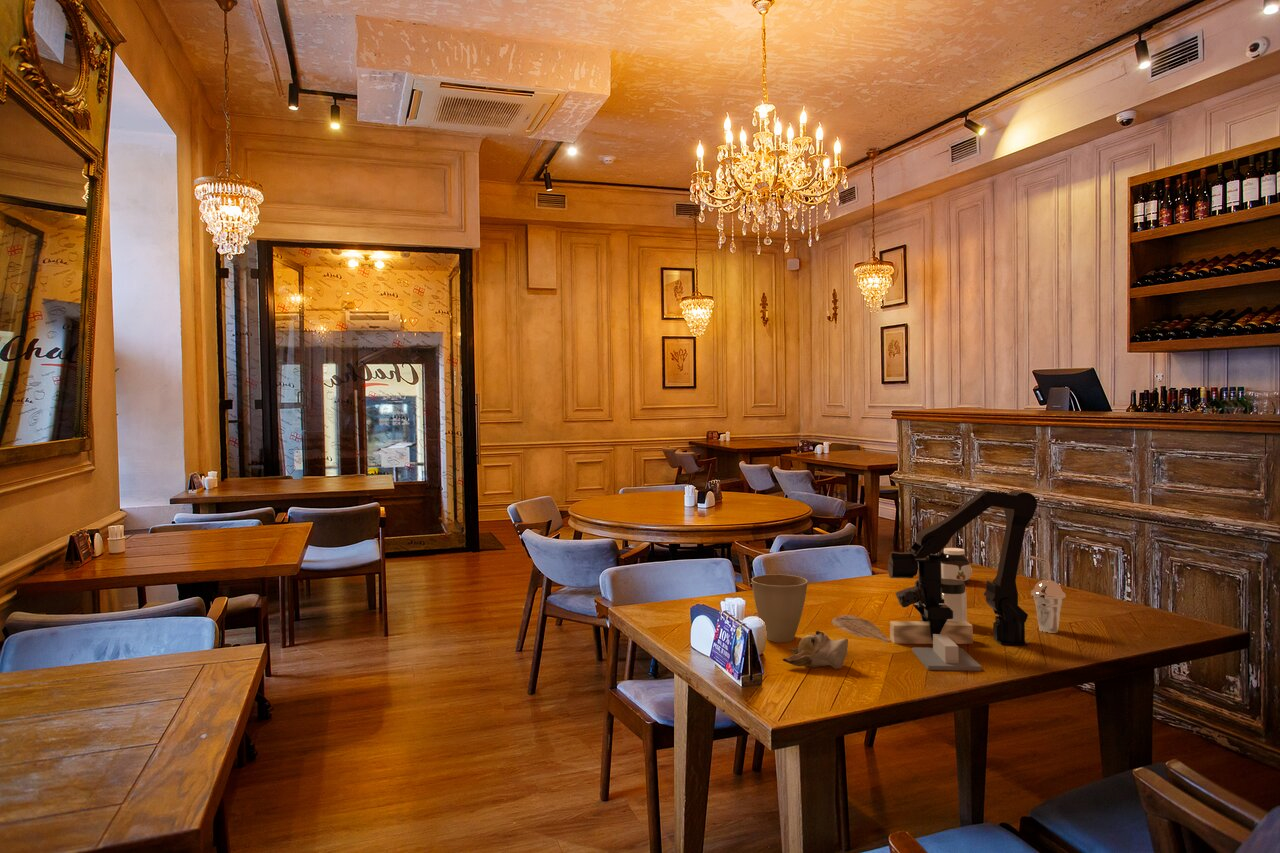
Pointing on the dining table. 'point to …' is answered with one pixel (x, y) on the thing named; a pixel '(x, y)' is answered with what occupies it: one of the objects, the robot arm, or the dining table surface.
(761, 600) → the plant pot
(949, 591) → the jar
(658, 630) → the dining table surface
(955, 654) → the fulcrum
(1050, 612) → the cup with straw
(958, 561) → the spread jar
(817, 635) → the ceramic sculpture
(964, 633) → the beech bar
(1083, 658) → the dining table surface
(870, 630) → the fish fossil
